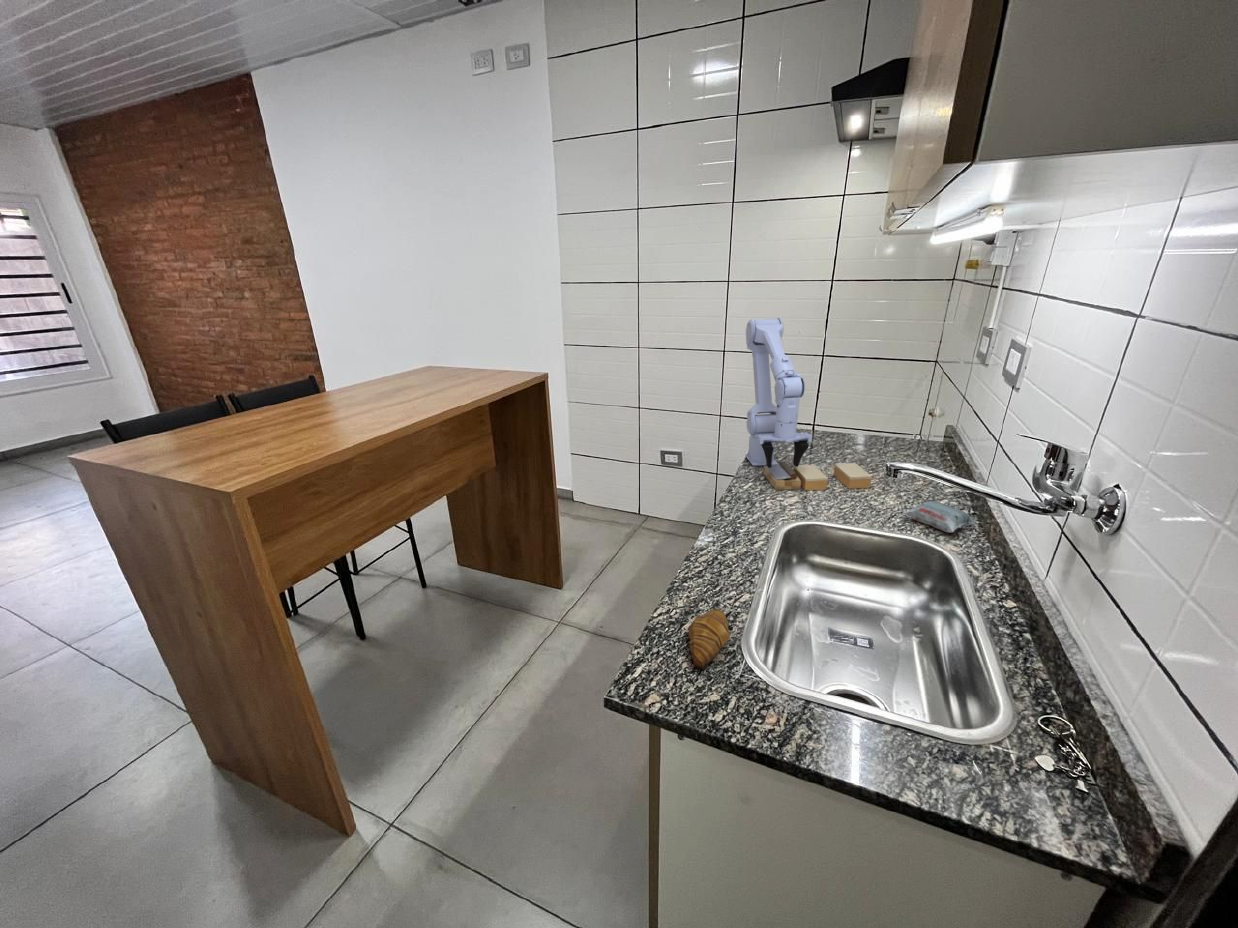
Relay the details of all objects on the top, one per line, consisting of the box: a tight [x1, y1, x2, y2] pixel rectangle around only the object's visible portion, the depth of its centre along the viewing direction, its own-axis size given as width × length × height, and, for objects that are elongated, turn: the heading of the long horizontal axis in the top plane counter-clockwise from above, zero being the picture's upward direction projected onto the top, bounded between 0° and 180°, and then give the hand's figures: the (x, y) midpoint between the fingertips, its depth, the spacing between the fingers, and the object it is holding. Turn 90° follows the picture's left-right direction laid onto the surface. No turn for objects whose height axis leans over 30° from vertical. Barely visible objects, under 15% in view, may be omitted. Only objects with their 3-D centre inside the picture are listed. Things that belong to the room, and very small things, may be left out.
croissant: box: [688, 609, 730, 670], centre depth 79 cm, size 14×7×5 cm, turn 155°
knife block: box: [762, 465, 802, 491], centre depth 140 cm, size 12×7×2 cm, turn 1°
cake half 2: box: [832, 462, 873, 490], centre depth 137 cm, size 10×6×4 cm, turn 0°
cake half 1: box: [792, 464, 829, 491], centre depth 138 cm, size 10×6×4 cm, turn 1°
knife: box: [765, 460, 797, 480], centre depth 139 cm, size 10×2×6 cm
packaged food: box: [902, 500, 976, 534], centre depth 112 cm, size 9×12×5 cm
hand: (782, 466), depth 138 cm, fingers open, 7 cm apart
